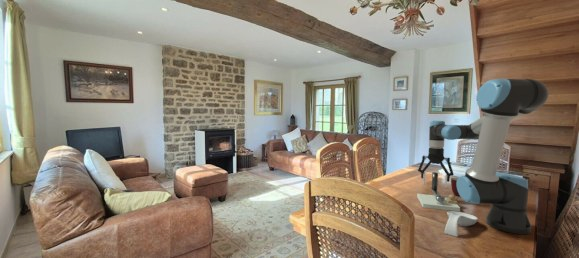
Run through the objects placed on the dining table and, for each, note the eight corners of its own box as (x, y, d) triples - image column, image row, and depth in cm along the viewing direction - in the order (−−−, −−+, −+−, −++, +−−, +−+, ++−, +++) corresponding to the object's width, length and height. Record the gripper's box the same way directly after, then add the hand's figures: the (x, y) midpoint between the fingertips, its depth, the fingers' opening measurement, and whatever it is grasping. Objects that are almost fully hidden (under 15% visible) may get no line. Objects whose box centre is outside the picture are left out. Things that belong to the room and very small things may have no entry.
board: (460, 211, 129) (460, 199, 129) (423, 207, 134) (423, 195, 134) (449, 200, 146) (450, 189, 146) (417, 196, 151) (417, 186, 151)
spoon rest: (450, 216, 124) (450, 201, 123) (479, 223, 116) (480, 208, 115) (435, 231, 107) (436, 215, 107) (468, 241, 99) (469, 223, 99)
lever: (445, 201, 132) (446, 179, 131) (436, 200, 133) (437, 178, 132) (437, 192, 147) (438, 172, 147) (429, 191, 149) (430, 172, 148)
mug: (472, 196, 153) (473, 180, 152) (469, 199, 147) (470, 182, 147) (452, 192, 161) (453, 177, 160) (448, 195, 155) (449, 179, 154)
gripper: (460, 148, 142) (458, 187, 143) (415, 145, 154) (413, 181, 156) (460, 150, 136) (458, 190, 137) (413, 146, 148) (411, 183, 150)
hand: (434, 185), depth 146 cm, fingers open, 10 cm apart
